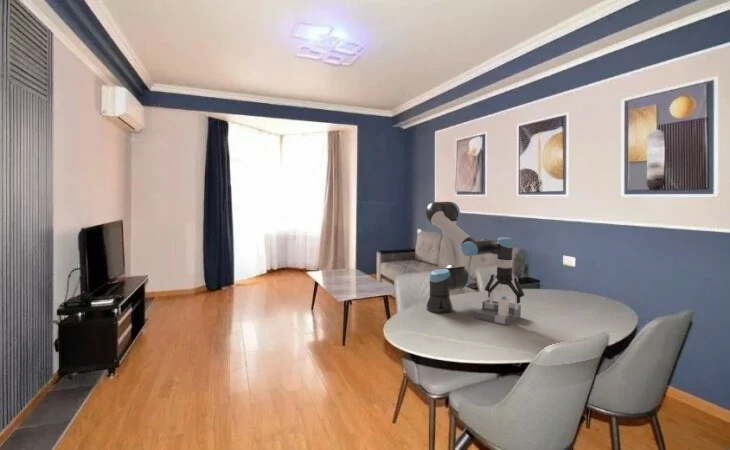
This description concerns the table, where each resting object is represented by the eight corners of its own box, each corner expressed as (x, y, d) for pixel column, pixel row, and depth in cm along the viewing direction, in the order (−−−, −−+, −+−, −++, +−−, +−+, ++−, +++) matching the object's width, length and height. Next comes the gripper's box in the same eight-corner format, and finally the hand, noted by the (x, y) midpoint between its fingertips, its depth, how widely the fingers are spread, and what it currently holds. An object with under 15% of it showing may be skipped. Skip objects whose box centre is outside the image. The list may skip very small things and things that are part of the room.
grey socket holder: (474, 318, 205) (475, 305, 204) (489, 310, 218) (489, 298, 218) (507, 325, 193) (507, 312, 192) (520, 317, 206) (520, 304, 205)
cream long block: (498, 320, 199) (498, 296, 198) (501, 319, 202) (501, 295, 201) (505, 322, 196) (506, 298, 195) (508, 320, 199) (509, 296, 198)
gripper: (479, 265, 202) (478, 303, 204) (526, 271, 185) (525, 313, 187) (485, 263, 208) (484, 300, 209) (531, 268, 191) (530, 309, 192)
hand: (503, 306), depth 198 cm, fingers open, 13 cm apart
